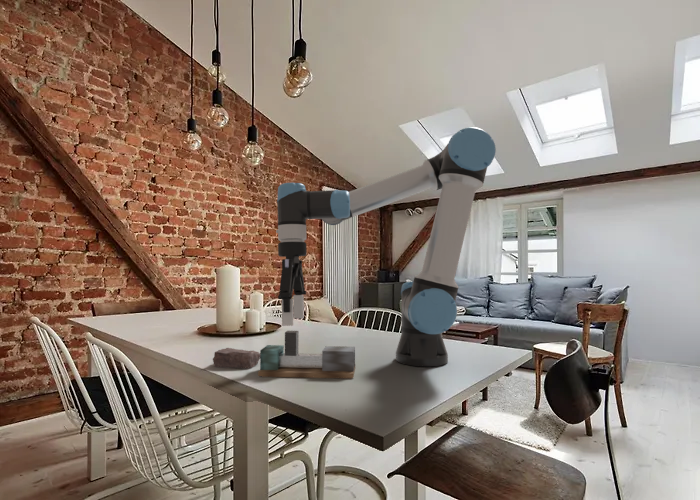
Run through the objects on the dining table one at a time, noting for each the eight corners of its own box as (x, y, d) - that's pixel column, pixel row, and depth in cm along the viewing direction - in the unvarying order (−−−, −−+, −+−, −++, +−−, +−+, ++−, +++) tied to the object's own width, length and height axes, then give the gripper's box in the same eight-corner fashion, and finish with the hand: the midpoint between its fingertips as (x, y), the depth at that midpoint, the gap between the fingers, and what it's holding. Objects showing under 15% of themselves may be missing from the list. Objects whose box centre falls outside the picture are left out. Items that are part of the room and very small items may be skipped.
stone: (251, 370, 105) (251, 352, 105) (210, 369, 107) (210, 351, 107) (264, 362, 114) (263, 346, 114) (226, 361, 116) (226, 345, 116)
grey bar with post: (329, 365, 104) (330, 331, 104) (328, 368, 101) (328, 333, 101) (270, 364, 105) (271, 330, 105) (267, 367, 102) (267, 332, 102)
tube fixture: (355, 368, 107) (355, 345, 107) (353, 378, 97) (353, 353, 97) (269, 366, 108) (269, 343, 109) (258, 376, 98) (258, 351, 99)
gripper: (288, 244, 117) (290, 315, 116) (265, 238, 92) (266, 329, 91) (313, 244, 117) (315, 315, 116) (296, 237, 92) (298, 328, 91)
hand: (293, 321), depth 103 cm, fingers open, 13 cm apart
